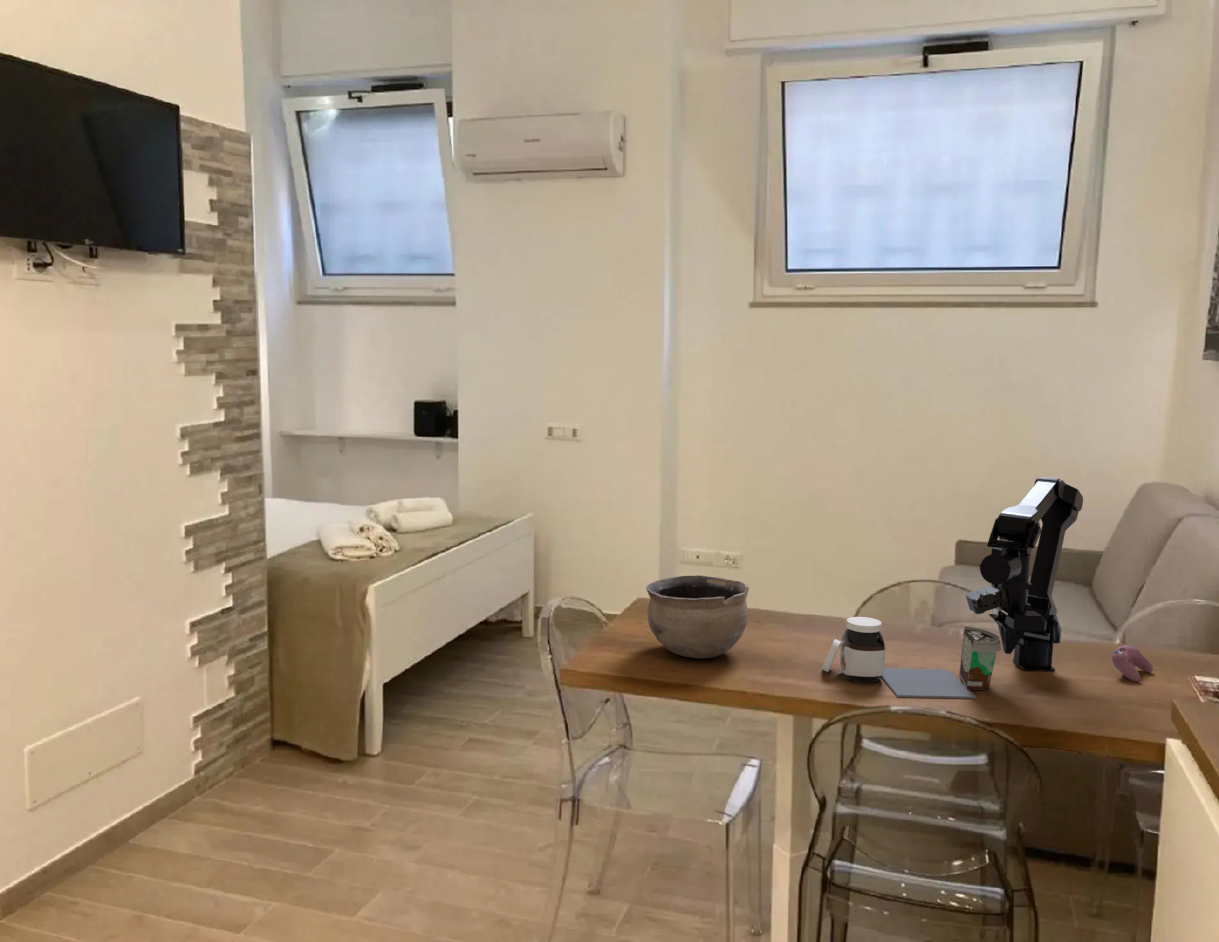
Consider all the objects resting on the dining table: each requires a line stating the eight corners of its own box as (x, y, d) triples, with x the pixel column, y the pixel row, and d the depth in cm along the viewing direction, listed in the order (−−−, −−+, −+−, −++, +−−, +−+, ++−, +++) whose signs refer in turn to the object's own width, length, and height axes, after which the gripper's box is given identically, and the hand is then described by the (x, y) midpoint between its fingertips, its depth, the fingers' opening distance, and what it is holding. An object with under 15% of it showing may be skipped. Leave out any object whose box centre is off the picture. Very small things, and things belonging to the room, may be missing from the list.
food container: (1001, 696, 187) (1008, 645, 186) (967, 691, 188) (974, 641, 187) (989, 677, 199) (995, 629, 198) (958, 672, 200) (964, 625, 199)
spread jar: (888, 685, 192) (891, 628, 191) (832, 686, 191) (835, 628, 190) (867, 666, 204) (870, 611, 202) (815, 666, 203) (817, 612, 202)
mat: (947, 671, 201) (947, 669, 201) (976, 698, 186) (976, 696, 186) (875, 669, 202) (875, 667, 201) (897, 697, 186) (897, 695, 186)
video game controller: (1133, 675, 206) (1120, 643, 208) (1155, 670, 203) (1142, 638, 204) (1118, 686, 199) (1104, 652, 201) (1140, 681, 196) (1126, 647, 197)
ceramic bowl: (721, 676, 196) (723, 603, 194) (626, 657, 206) (628, 588, 204) (761, 648, 215) (763, 581, 213) (672, 632, 225) (674, 569, 223)
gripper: (955, 564, 200) (950, 638, 202) (991, 586, 181) (985, 667, 183) (1009, 566, 200) (1003, 639, 202) (1050, 587, 181) (1044, 668, 183)
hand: (1007, 653), depth 193 cm, fingers closed
